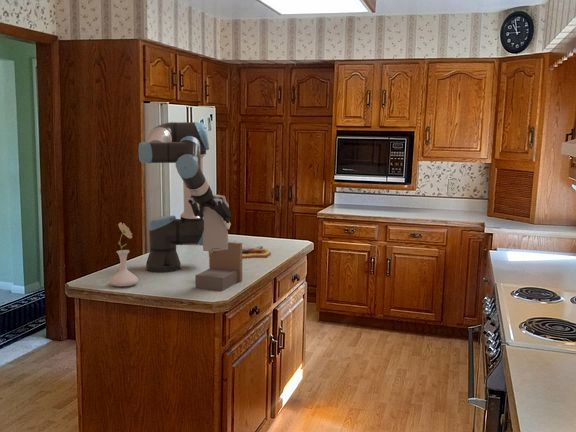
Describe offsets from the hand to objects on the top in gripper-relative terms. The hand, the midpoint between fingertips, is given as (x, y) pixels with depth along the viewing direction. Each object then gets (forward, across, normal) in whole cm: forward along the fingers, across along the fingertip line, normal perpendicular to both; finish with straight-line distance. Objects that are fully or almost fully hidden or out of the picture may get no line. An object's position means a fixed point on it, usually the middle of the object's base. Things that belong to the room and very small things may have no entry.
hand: (219, 226), depth 238 cm
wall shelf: (+16, 0, -18) cm, 24 cm away
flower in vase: (+7, -35, -27) cm, 45 cm away
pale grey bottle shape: (+4, 0, -9) cm, 10 cm away
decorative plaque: (+56, -16, +22) cm, 62 cm away
